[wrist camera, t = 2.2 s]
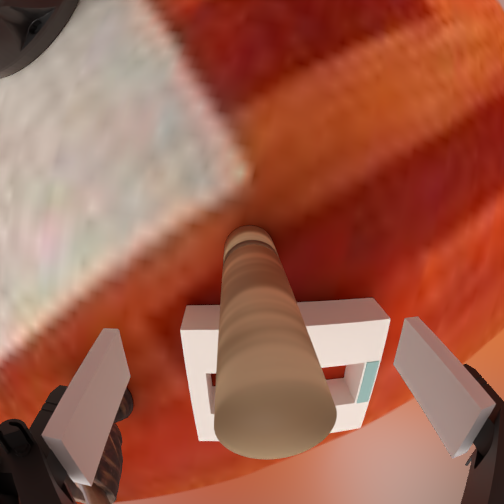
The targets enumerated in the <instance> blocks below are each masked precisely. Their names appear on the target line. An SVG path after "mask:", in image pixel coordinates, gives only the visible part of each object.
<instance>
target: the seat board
mask: <svg viewBox="0 0 504 504" xmlns="http://www.w3.org/2000/svg"><path fill="white" fill-rule="evenodd" d="M297 305H298V307H299V310H300V313H301V315H302V318H303V320H304V323H305V326H306V328H307V331H308V334H309V336H310V339H311V342H312V344H313V347H314V350H315V352H316V355H317V358H318V360H319V363H320V366H321V368H324V367H333V366H342V365H346V369H345V374H344V378H338V379H329V380H326V382H327V385H328V387H329V390H330V393H331V395H332V398H333V401H334V404H335V407H336V410H337V418H336V422H335V425H334V427H333V429H332V430H331V432H330V433H333V432H339V431H345V430H351V429H357V428H361V425H362V422H363V419H364V416H365V413H366V410H367V407H368V403H369V400H370V397H371V394H372V390H373V387H374V383H375V380H376V376H377V373H378V369H379V365H380V362H381V358H382V354H383V350H384V346H385V342H386V337H387V333H388V329H389V324H390V317H389V316H388V315H387V314H386V312H385V311H384V310H383V309H382V308H381V306H380V305H379V304H378V303H377V302H376V300H375V299H374V298H360V299H346V300H330V301H313V302H297ZM219 318H220V305H187V306H186V310H185V313H184V317H183V321H182V325H181V329H180V331H181V339H182V346H183V353H184V359H185V366H186V372H187V378H188V384H189V390H190V396H191V402H192V407H193V413H194V418H195V423H196V428H197V434H198V438H199V441H219V440H218V439H217V437H216V434H215V431H214V410H215V389H216V386H212V378H211V373H216V369H217V351H218V334H219Z"/></svg>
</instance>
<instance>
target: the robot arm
mask: <svg viewBox="0 0 504 504" xmlns="http://www.w3.org/2000/svg"><path fill="white" fill-rule="evenodd" d="M77 2H78V0H0V78H3V77H6V76H9V75H11V74H14V73H16V72H17V71H19V70H21V69H22V68H24V67H25V66H27V65H28V64H29V63H31V62H32V61H33V60H34V59H36V58H37V57H38V56H39V55H40V54H41V53H42V52H43V51H44V50H45V49H46V48H47V47H48V46H49V45H50V44H51V42H52V41H53V40H54V39H55V38H56V37H57V35H58V34H59V33H60V31H61V30H62V28H63V27H64V26H65V24H66V23H67V21H68V19H69V18H70V16H71V14H72V12H73V11H74V9H75V6H76V4H77ZM393 365H394V366H395V368H396V369H397V371H398V372H399V374H400V375H401V377H402V378H403V380H404V381H405V383H406V385H407V386H408V388H409V389H410V391H411V392H412V394H413V395H414V397H415V399H416V400H417V402H418V403H419V405H420V406H421V408H422V410H423V411H424V413H425V414H426V416H427V418H428V419H429V421H430V422H431V424H432V426H433V427H434V429H435V430H436V432H437V434H438V435H439V437H440V439H441V440H442V442H443V444H444V446H445V447H446V449H447V450H448V452H449V454H450V456H451V457H452V458H455V457H457V456H459V455H462V454H464V453H466V452H467V451H468V450H469V448H470V446H471V445H472V443H474V445H475V446H476V449H475V451H474V452H473V454H472V455H471V456H470V458H469V459H468V461H467V463H466V464H465V465H466V466H467V465H468V464H469V463H470V461H471V466H470V470H469V475H468V479H467V483H466V487H465V491H464V495H463V498H462V501H461V504H504V401H503V400H502V399H501V398H500V397H499V396H498V395H497V393H496V392H495V391H494V390H493V389H492V388H491V386H490V385H489V384H487V382H486V381H485V380H484V378H482V376H481V375H480V374H479V373H478V372H477V371H476V370H475V369H474V368H472V367H471V366H469V365H467V364H464V365H462V364H461V362H460V361H459V360H458V359H457V358H456V357H455V356H454V355H453V354H452V353H451V351H450V350H449V349H448V348H447V347H446V346H445V345H444V344H443V343H442V342H441V341H440V339H439V338H438V337H437V336H436V335H435V334H434V333H433V332H432V331H431V330H430V329H429V328H428V327H427V326H426V325H425V324H424V323H423V321H422V320H421V319H420V318H419V317H410V318H405V319H404V324H403V328H402V332H401V336H400V340H399V344H398V348H397V352H396V356H395V360H394V363H393ZM130 377H131V376H130V372H129V369H128V365H127V361H126V357H125V353H124V349H123V345H122V341H121V337H120V332H119V329H108V328H104V329H103V330H102V332H101V333H100V335H99V336H98V338H97V340H96V341H95V343H94V344H93V346H92V348H91V349H90V351H89V352H88V354H87V356H86V357H85V359H84V361H83V362H82V364H81V366H80V367H79V369H78V371H77V372H76V374H75V376H74V377H73V379H72V381H71V382H70V384H69V386H68V387H67V386H61V385H60V386H58V387H57V388H56V389H55V390H53V391H52V392H51V393H50V395H49V396H48V398H47V400H46V401H45V402H46V403H44V405H43V406H42V408H41V410H40V411H39V413H38V415H37V417H36V418H35V420H34V422H33V423H32V425H31V427H30V429H28V428H27V426H26V424H25V423H24V422H23V421H21V420H18V419H10V420H7V421H5V422H2V423H1V424H0V504H77V503H76V502H75V500H74V498H73V496H72V494H71V492H70V490H69V488H68V486H67V484H66V483H65V478H66V475H67V474H68V475H69V477H70V478H71V479H72V481H73V482H76V483H80V484H84V485H88V486H92V484H93V480H94V477H95V474H96V471H97V468H98V465H99V462H100V459H101V456H102V453H103V450H104V447H105V444H106V441H107V439H108V436H109V433H110V430H111V427H112V425H113V422H114V419H115V416H116V414H117V411H118V408H119V405H120V403H121V400H122V397H123V395H124V392H125V390H126V387H127V384H128V382H129V379H130Z"/></svg>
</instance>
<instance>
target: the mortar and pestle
mask: <svg viewBox="0 0 504 504" xmlns="http://www.w3.org/2000/svg"><path fill="white" fill-rule="evenodd" d="M132 411H133V400H132V396H131V394H130V392H129V391H128V389H127V387H126V390H125V392H124V395H123V397H122V400H121V403H120V405H119V408H118V411H117V414H116V416H115V419H114V422H113V425H112V427H111V430H110V433H109V436H108V439H107V441H106V444H105V447H104V450H103V453H102V456H101V459H100V462H99V465H98V468H97V471H96V474H95V477H94V480H93V484H92V486H88V485H84V484H80V483H76V482H73V481H72V479H71V478H70V477H69V475H68V474H67V475H66V478H65V483H66V484H67V486H68V488H69V490H70V492H71V494H72V496H73V498H74V500H75V501H77V502H81V503H85V504H112V503H114V502H115V500H116V496H117V492H118V488H119V481H120V477H121V473H122V463H123V456H122V450H121V445H122V436H121V432H120V430H119V428H118V426H117V425H116V424H115V423H116V422H118V421H121V420H123V419H125V418H127V417H128V416H129V415H130V414H131V412H132Z"/></svg>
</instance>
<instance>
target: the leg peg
mask: <svg viewBox="0 0 504 504" xmlns="http://www.w3.org/2000/svg"><path fill="white" fill-rule="evenodd" d="M336 418H337V410H336V407H335V404H334V401H333V398H332V395H331V393H330V390H329V387H328V385H327V382H326V379H325V376H324V374H323V371H322V368H321V366H320V363H319V360H318V358H317V355H316V352H315V350H314V347H313V344H312V342H311V339H310V336H309V334H308V331H307V328H306V326H305V323H304V320H303V318H302V315H301V313H300V310H299V307H298V305H297V302H296V300H295V297H294V294H293V292H292V289H291V287H290V284H289V281H288V279H287V276H286V274H285V271H284V269H283V266H282V264H281V261H280V258H279V256H278V253H277V251H276V248H275V246H274V243H273V241H272V239H271V237H270V235H269V234H268V233H267V232H266V231H265V230H264V229H262V228H260V227H257V226H253V225H246V226H242V227H239V228H237V229H235V230H234V231H233V232H232V233H231V234H230V235H229V236H228V238H227V240H226V242H225V247H224V260H223V274H222V288H221V302H220V318H219V334H218V351H217V369H216V389H215V410H214V431H215V434H216V437H217V439H218V440H219V441H220V443H221V444H222V445H224V446H225V447H226V448H227V449H229V450H231V451H232V452H234V453H236V454H239V455H242V456H245V457H249V458H255V459H279V458H285V457H290V456H293V455H297V454H299V453H302V452H304V451H307V450H309V449H311V448H312V447H314V446H316V445H317V444H319V443H320V442H321V441H322V440H324V439H325V438H326V437H327V436H328V434H329V433H330V432H331V430H332V429H333V427H334V425H335V422H336Z"/></svg>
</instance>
